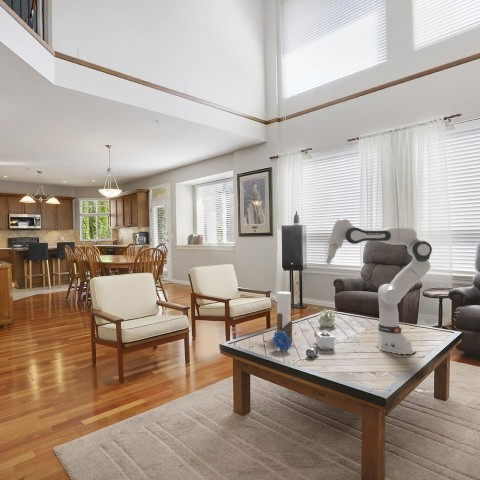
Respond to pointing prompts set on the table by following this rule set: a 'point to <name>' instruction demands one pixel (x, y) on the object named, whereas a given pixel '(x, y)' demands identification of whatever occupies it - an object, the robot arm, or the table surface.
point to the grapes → (282, 340)
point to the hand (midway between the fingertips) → (327, 263)
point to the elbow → (324, 340)
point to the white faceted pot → (325, 349)
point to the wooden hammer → (285, 329)
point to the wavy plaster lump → (327, 318)
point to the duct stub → (311, 352)
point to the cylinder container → (284, 307)
